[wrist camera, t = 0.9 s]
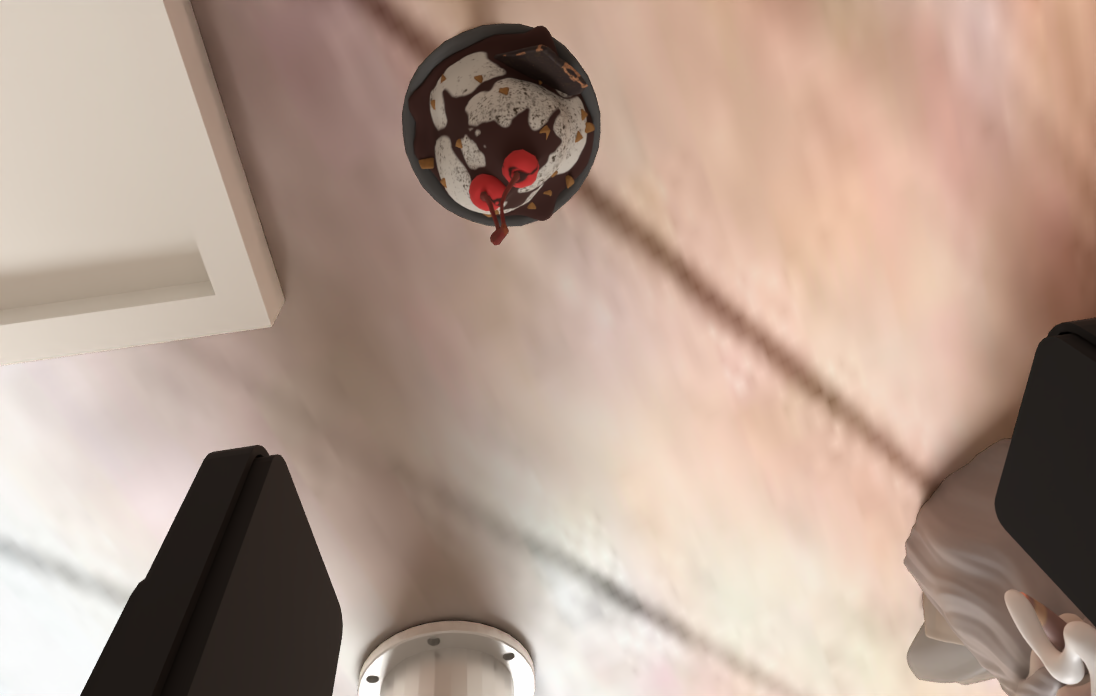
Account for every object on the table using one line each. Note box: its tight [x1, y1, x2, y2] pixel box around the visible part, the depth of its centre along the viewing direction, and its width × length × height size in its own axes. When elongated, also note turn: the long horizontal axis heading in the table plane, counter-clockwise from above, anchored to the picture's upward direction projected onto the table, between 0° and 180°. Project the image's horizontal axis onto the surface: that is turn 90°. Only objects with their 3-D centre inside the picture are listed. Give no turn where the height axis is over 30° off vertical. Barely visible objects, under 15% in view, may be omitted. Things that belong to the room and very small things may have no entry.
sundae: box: [402, 24, 600, 245], centre depth 26 cm, size 7×7×15 cm
